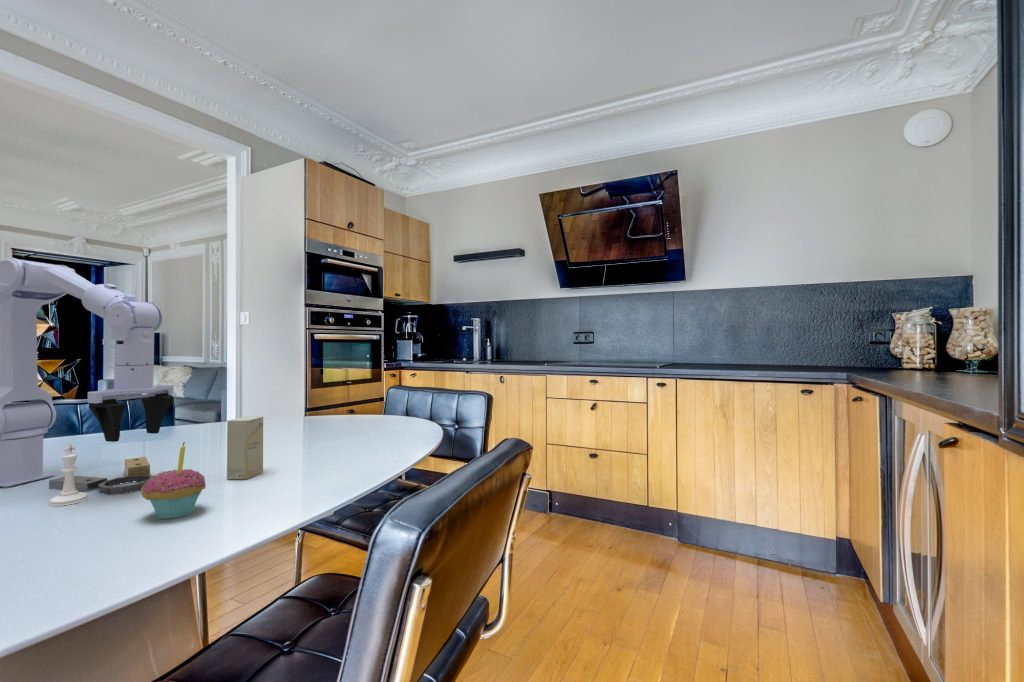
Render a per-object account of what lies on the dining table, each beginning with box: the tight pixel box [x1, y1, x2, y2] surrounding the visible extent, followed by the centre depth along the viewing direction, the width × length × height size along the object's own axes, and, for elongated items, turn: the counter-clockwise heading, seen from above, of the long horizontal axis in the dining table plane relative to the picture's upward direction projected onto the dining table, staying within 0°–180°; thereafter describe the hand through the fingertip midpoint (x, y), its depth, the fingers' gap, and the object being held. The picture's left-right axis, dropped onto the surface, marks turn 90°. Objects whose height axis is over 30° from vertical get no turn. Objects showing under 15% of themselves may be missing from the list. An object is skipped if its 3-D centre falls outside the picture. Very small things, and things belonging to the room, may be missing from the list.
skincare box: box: [226, 415, 264, 480], centre depth 96 cm, size 6×4×12 cm
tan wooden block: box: [124, 456, 151, 476], centre depth 96 cm, size 9×4×2 cm, turn 43°
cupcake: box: [140, 441, 207, 520], centre depth 74 cm, size 9×8×12 cm
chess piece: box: [48, 443, 89, 507], centre depth 80 cm, size 5×5×10 cm
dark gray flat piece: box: [48, 474, 155, 495], centre depth 88 cm, size 18×8×2 cm, turn 79°
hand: (133, 437), depth 86 cm, fingers open, 7 cm apart
